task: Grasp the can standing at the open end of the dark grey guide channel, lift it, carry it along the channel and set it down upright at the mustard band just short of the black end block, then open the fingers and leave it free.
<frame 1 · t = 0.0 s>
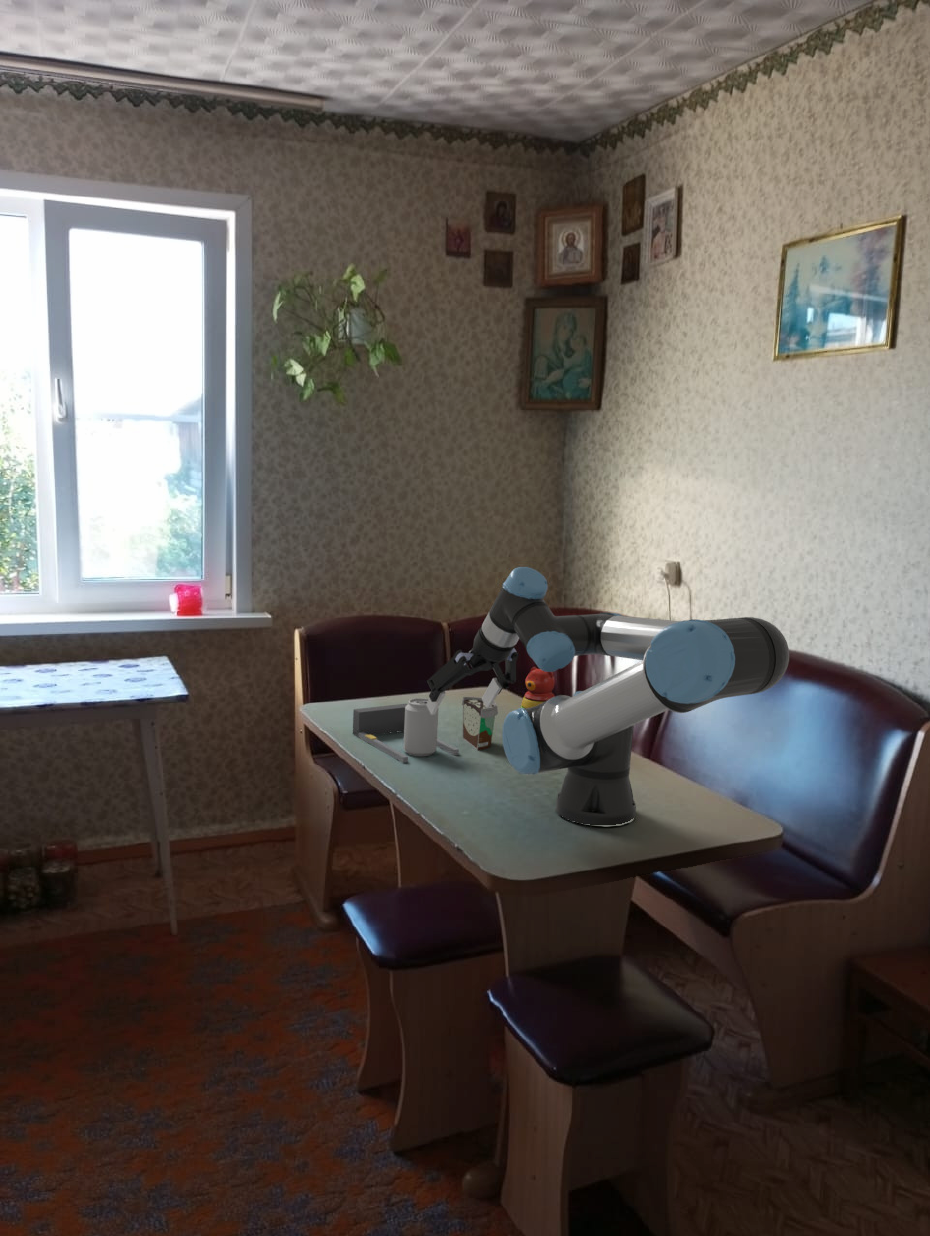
hand: (458, 706, 197), 15 cm above the table, tool tilted 35°, fingers open, 13 cm apart
guide channel: (404, 743, 221), on the table
food container: (481, 744, 225), on the table
can: (419, 753, 216), on the table
stacking bear: (536, 742, 229), on the table
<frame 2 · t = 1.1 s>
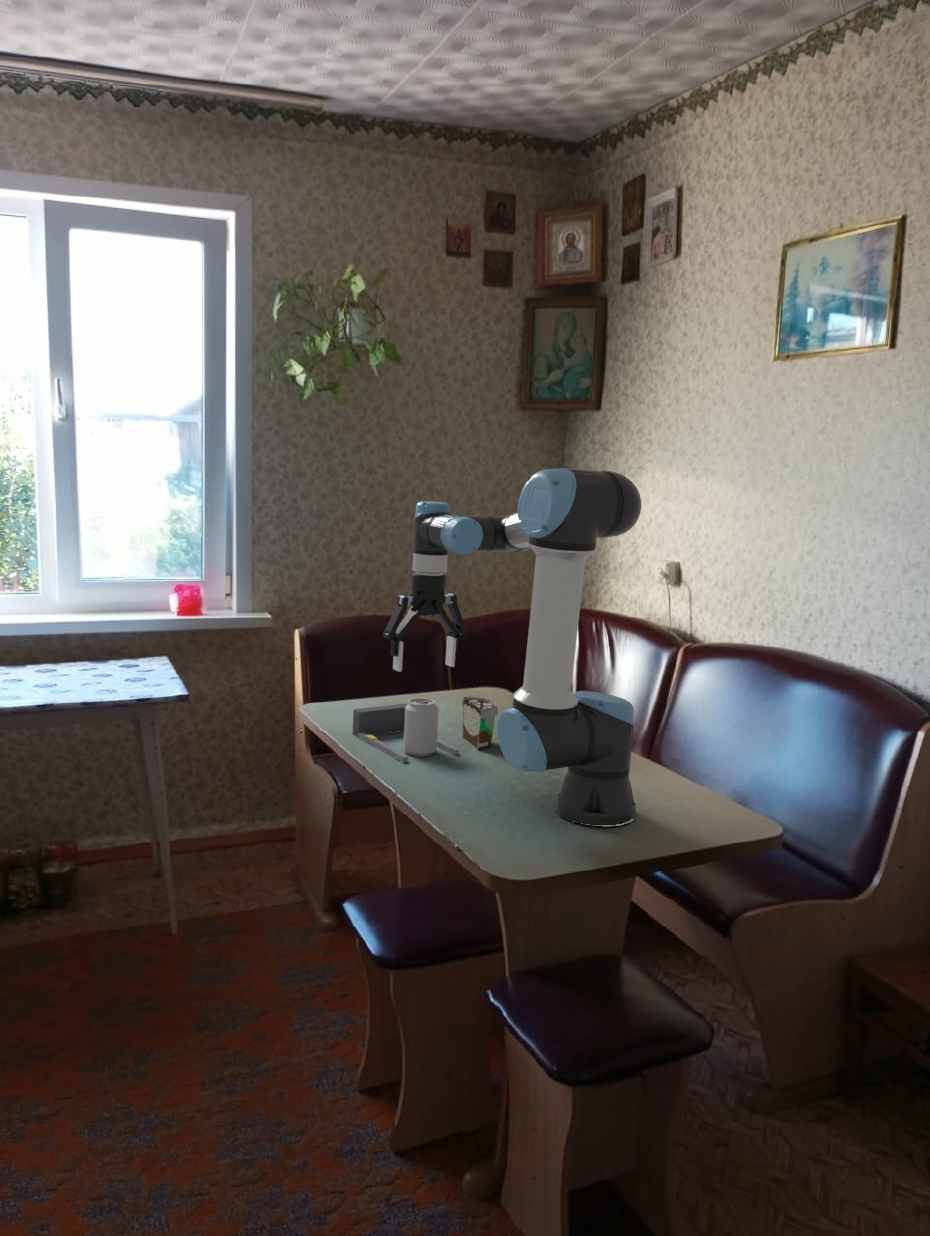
hand: (424, 668, 212), 19 cm above the table, tool pointing down, fingers open, 13 cm apart
nothing on the table moved.
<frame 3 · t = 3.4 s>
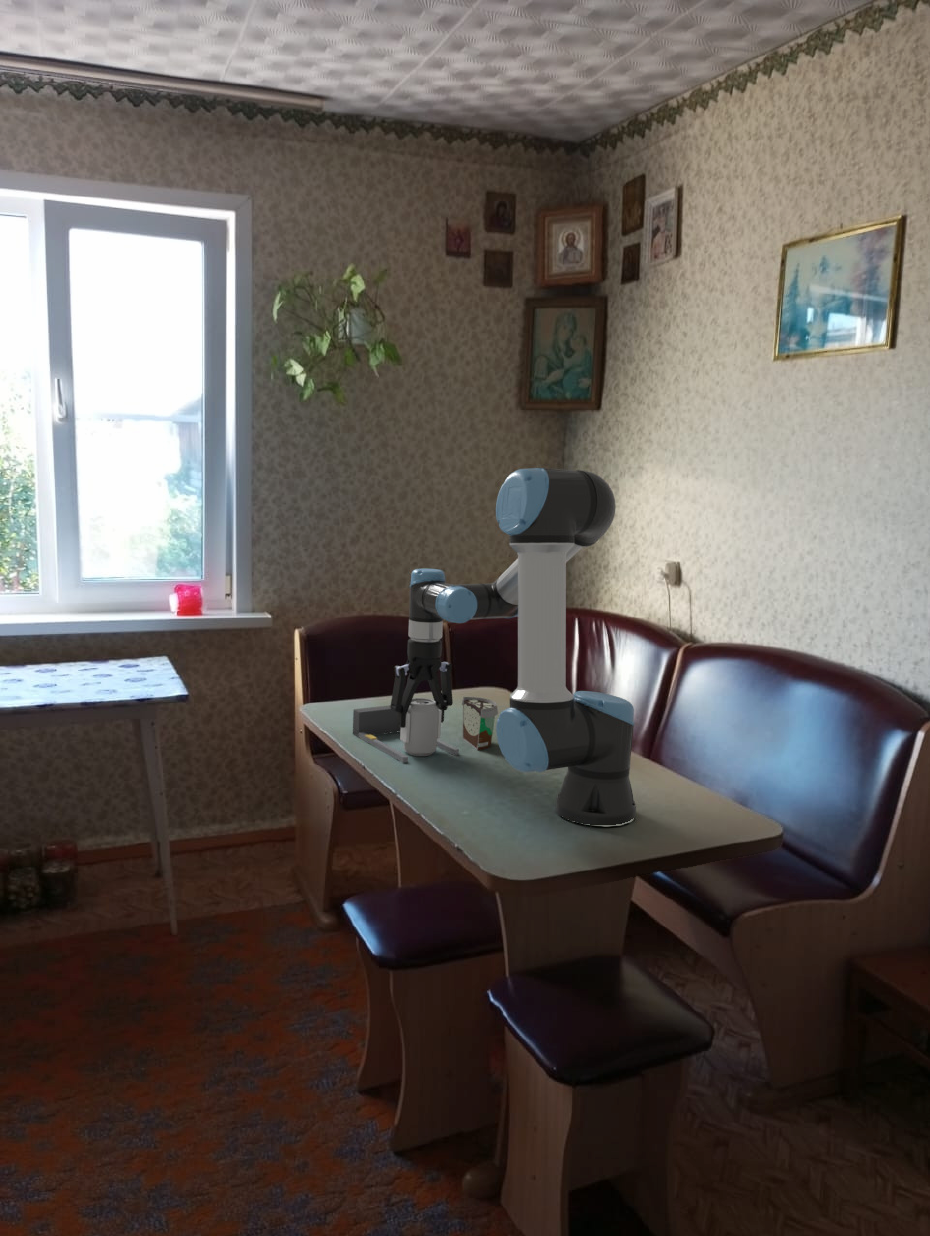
hand: (420, 738, 215), 3 cm above the table, tool pointing down, fingers closed on can, 7 cm apart
can: (419, 753, 216), on the table, touching gripper
everything else where it was.
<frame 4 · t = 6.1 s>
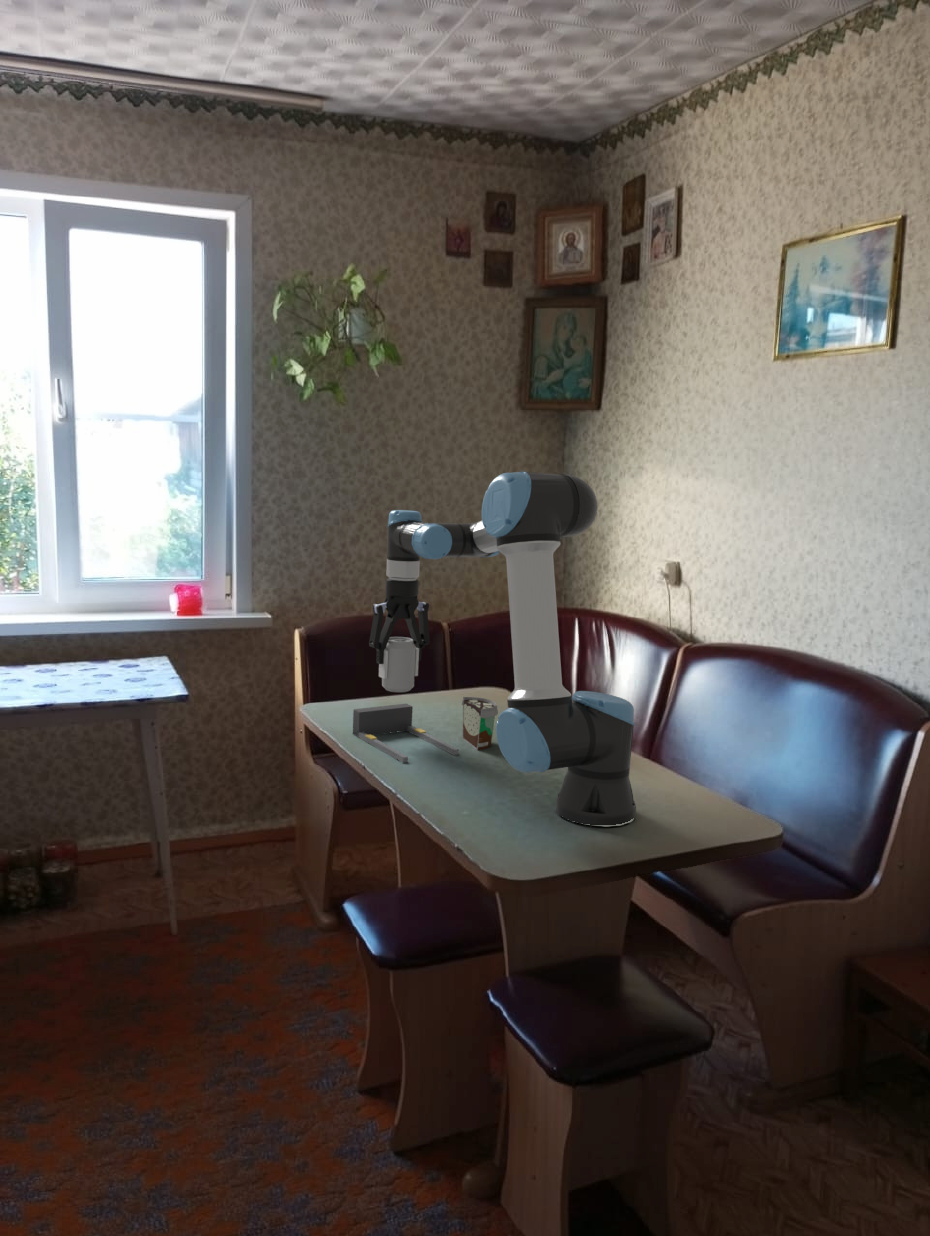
hand: (398, 676, 222), 15 cm above the table, tool pointing down, fingers closed on can, 7 cm apart
can: (397, 690, 223), point 12 cm above the table, touching gripper
everything else where it was.
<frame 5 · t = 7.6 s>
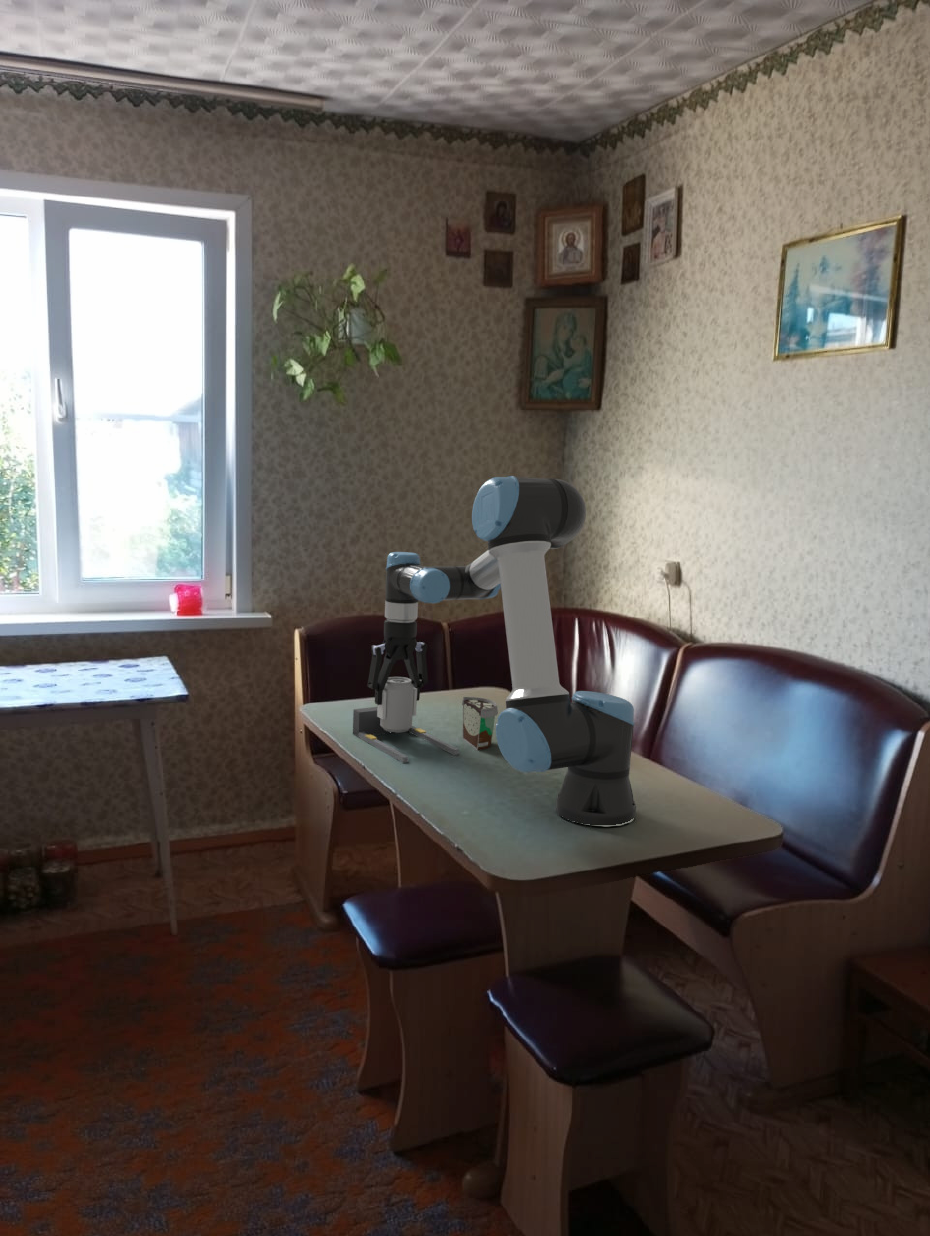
hand: (396, 715, 224), 6 cm above the table, tool pointing down, fingers closed on can, 7 cm apart
can: (396, 729, 224), point 2 cm above the table, touching gripper
everything else where it was.
when the fingers open (5 cm above the table, at t = 8.7 s): can drops 1 cm, on the table.
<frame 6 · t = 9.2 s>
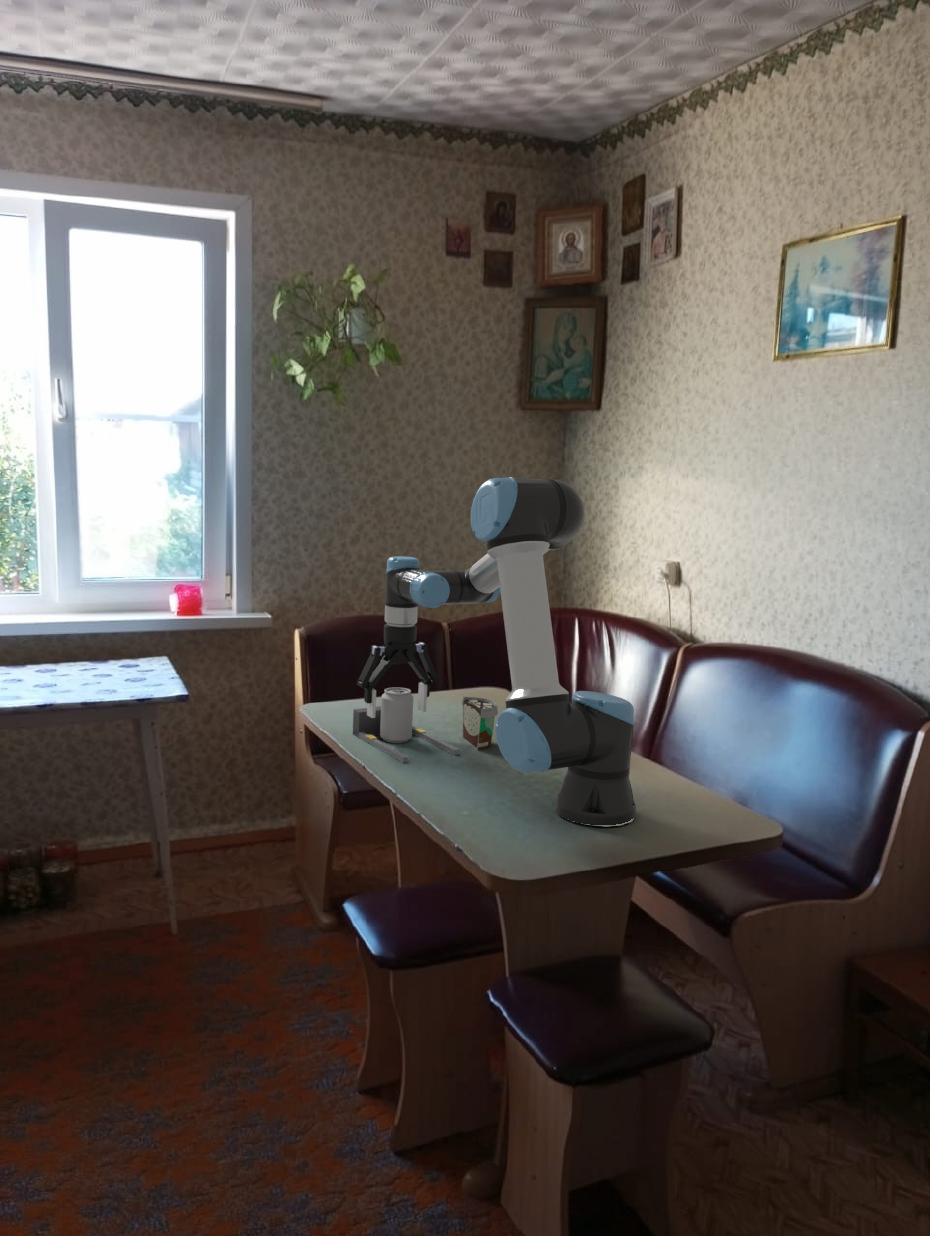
hand: (396, 713, 224), 6 cm above the table, tool pointing down, fingers open, 13 cm apart
can: (395, 740, 225), on the table
everything else where it was.
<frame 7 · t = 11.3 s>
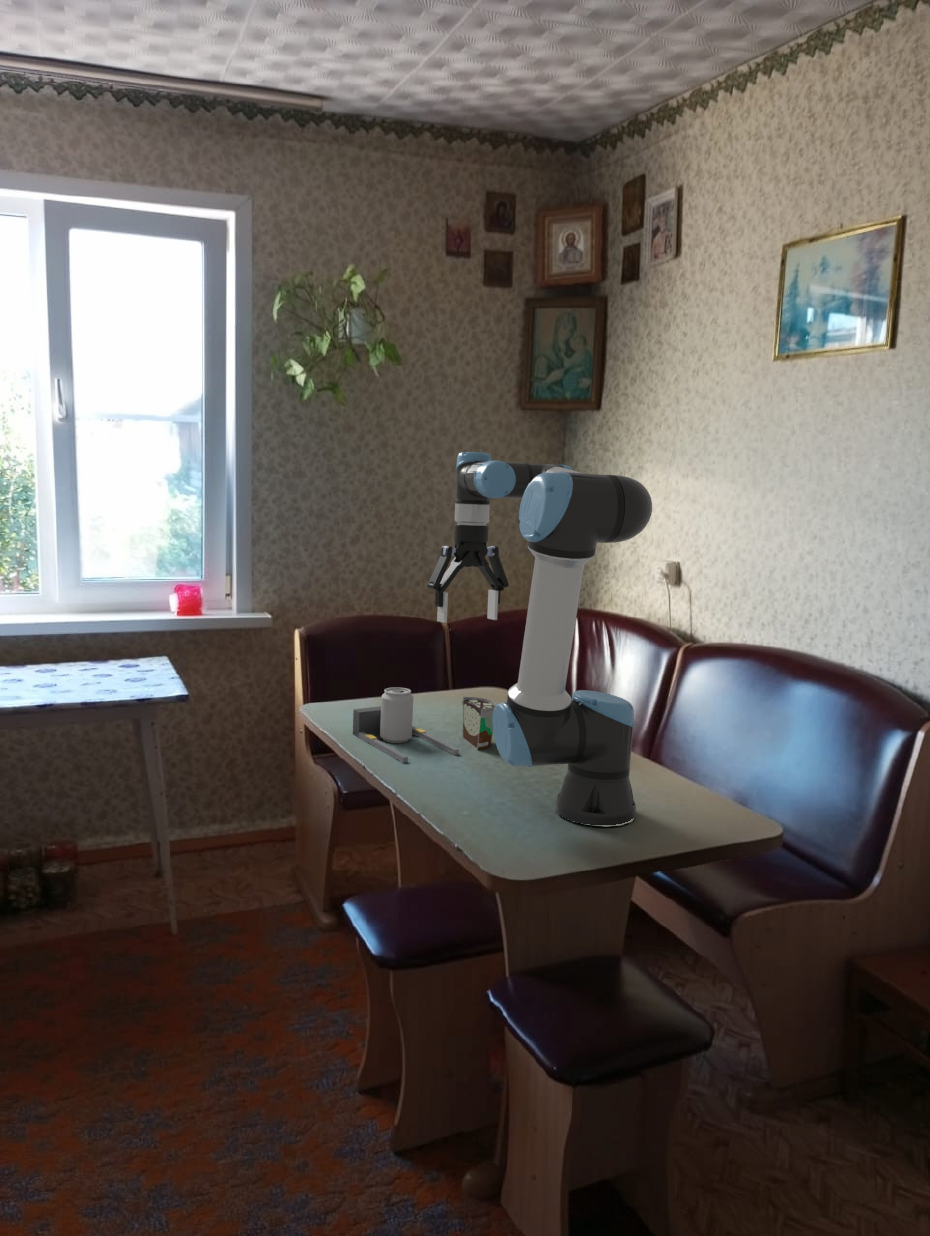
hand: (467, 620, 212), 30 cm above the table, tool pointing down, fingers open, 13 cm apart
nothing on the table moved.
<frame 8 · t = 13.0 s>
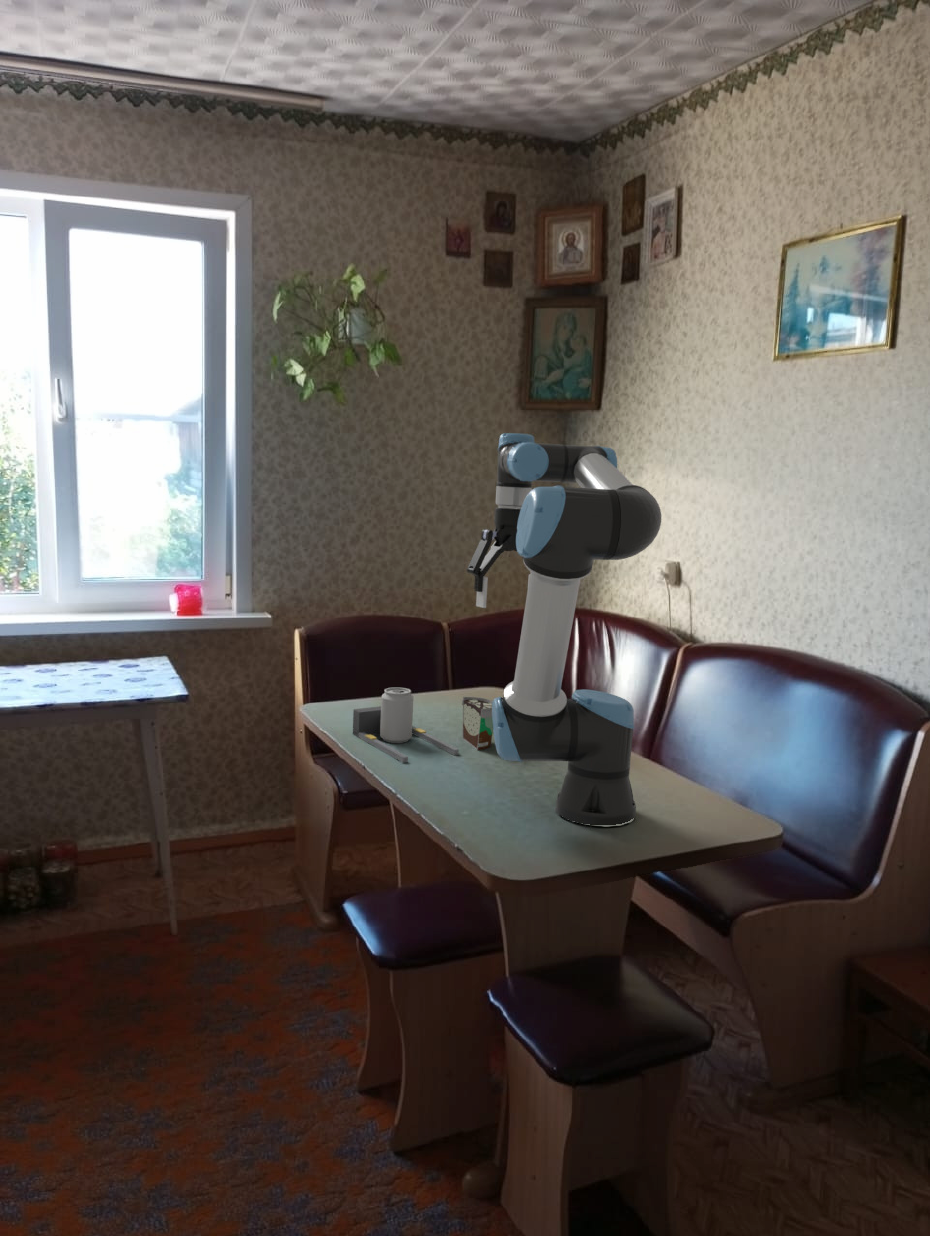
hand: (506, 605, 207), 35 cm above the table, tool pointing down, fingers open, 13 cm apart
nothing on the table moved.
at the end: can inside the target area (0.0 cm from its centre), on the table; can tilted 0°; the gripper is holding nothing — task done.
